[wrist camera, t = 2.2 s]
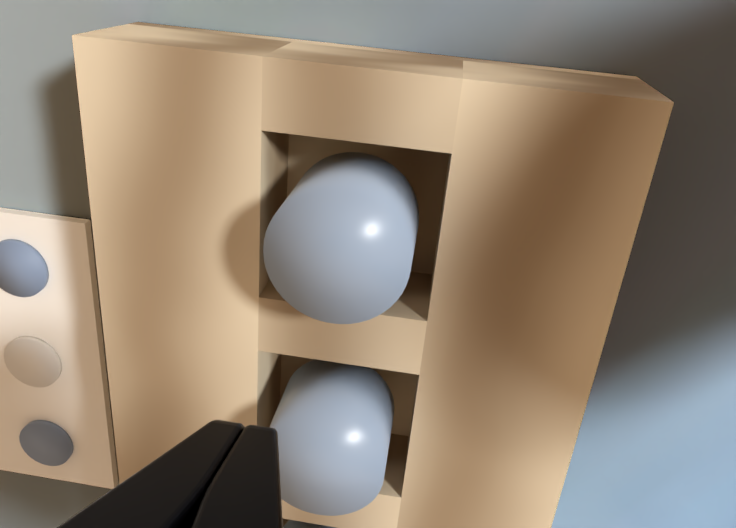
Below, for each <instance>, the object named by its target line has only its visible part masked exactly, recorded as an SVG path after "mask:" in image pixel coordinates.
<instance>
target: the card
mask: <svg viewBox="0 0 736 528" xmlns="http://www.w3.org/2000/svg"><path fill="white" fill-rule="evenodd" d="M0 470H5V471H11V472H16V473H22V474H28V475H34V476H40V477H46V478H51V479H57V480H63V481H69V482H75V483H81V484H86V485H92V486H98V487H104V488H110V489H113V488H115V487H116V486H117V485H118V474H117V465H116V455H115V446H114V437H113V427H112V418H111V408H110V399H109V390H108V380H107V371H106V362H105V352H104V343H103V334H102V324H101V315H100V306H99V296H98V287H97V278H96V268H95V259H94V250H93V240H92V231H91V222H90V220H89V219H81V218H74V217H67V216H59V215H52V214H45V213H37V212H30V211H23V210H15V209H8V208H1V207H0Z"/></svg>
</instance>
